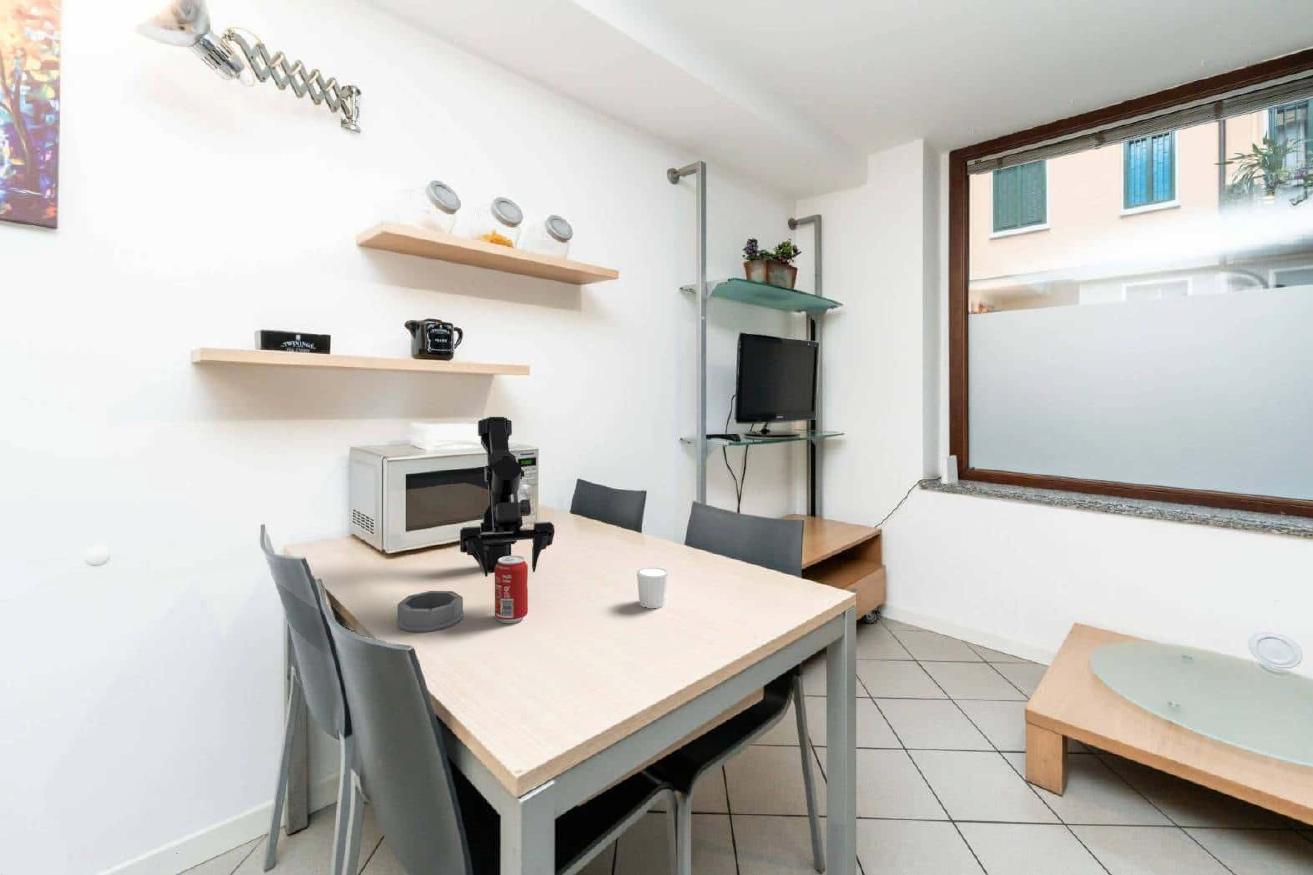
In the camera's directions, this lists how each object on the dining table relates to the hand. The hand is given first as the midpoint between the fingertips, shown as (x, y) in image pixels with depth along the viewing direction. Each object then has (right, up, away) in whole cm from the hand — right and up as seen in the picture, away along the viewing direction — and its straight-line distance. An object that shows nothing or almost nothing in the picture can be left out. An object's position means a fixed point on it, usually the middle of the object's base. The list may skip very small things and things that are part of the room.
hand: (510, 573), depth 110 cm
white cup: (+28, -9, +9) cm, 31 cm away
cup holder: (-15, -9, -1) cm, 18 cm away
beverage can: (0, -9, 0) cm, 9 cm away
